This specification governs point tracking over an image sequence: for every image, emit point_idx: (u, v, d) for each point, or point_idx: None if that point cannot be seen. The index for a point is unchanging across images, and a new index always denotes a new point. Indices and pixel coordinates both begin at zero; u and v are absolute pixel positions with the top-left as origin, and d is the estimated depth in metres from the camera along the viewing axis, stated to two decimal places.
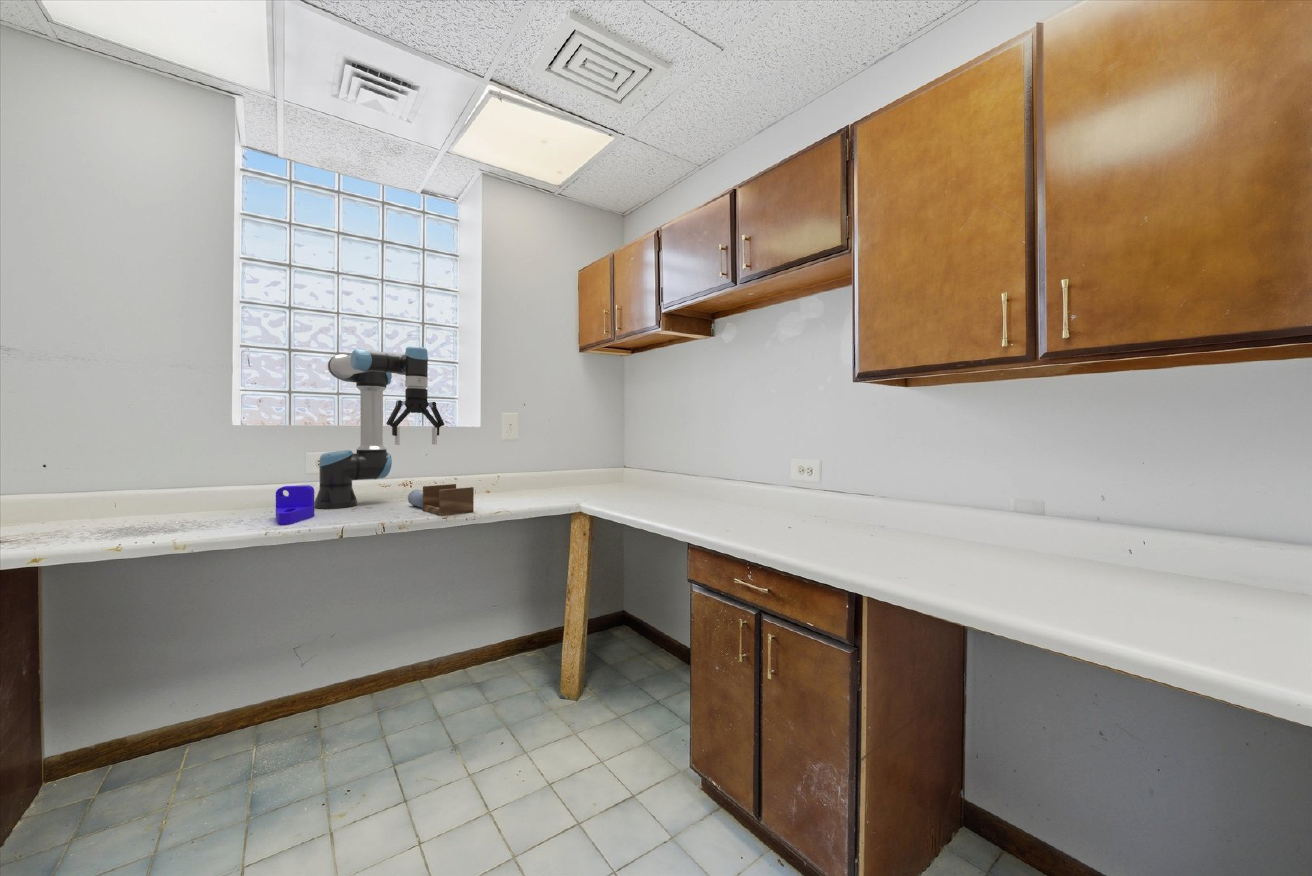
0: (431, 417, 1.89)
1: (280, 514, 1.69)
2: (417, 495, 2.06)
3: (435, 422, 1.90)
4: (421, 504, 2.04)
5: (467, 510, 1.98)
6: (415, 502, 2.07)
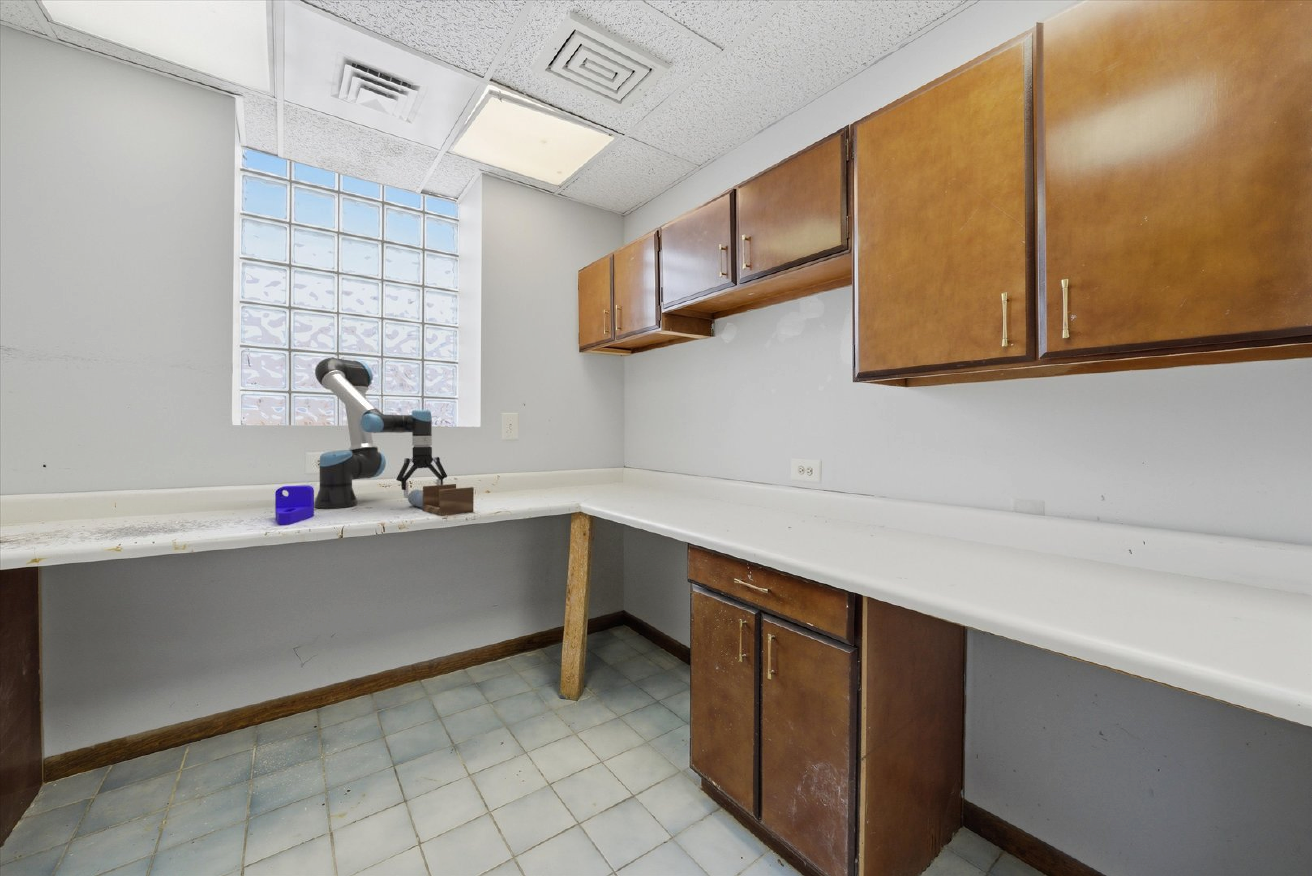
0: (435, 471, 2.13)
1: (280, 514, 1.69)
2: (417, 495, 2.06)
3: (439, 475, 2.14)
4: (421, 504, 2.04)
5: (467, 510, 1.98)
6: (415, 502, 2.07)
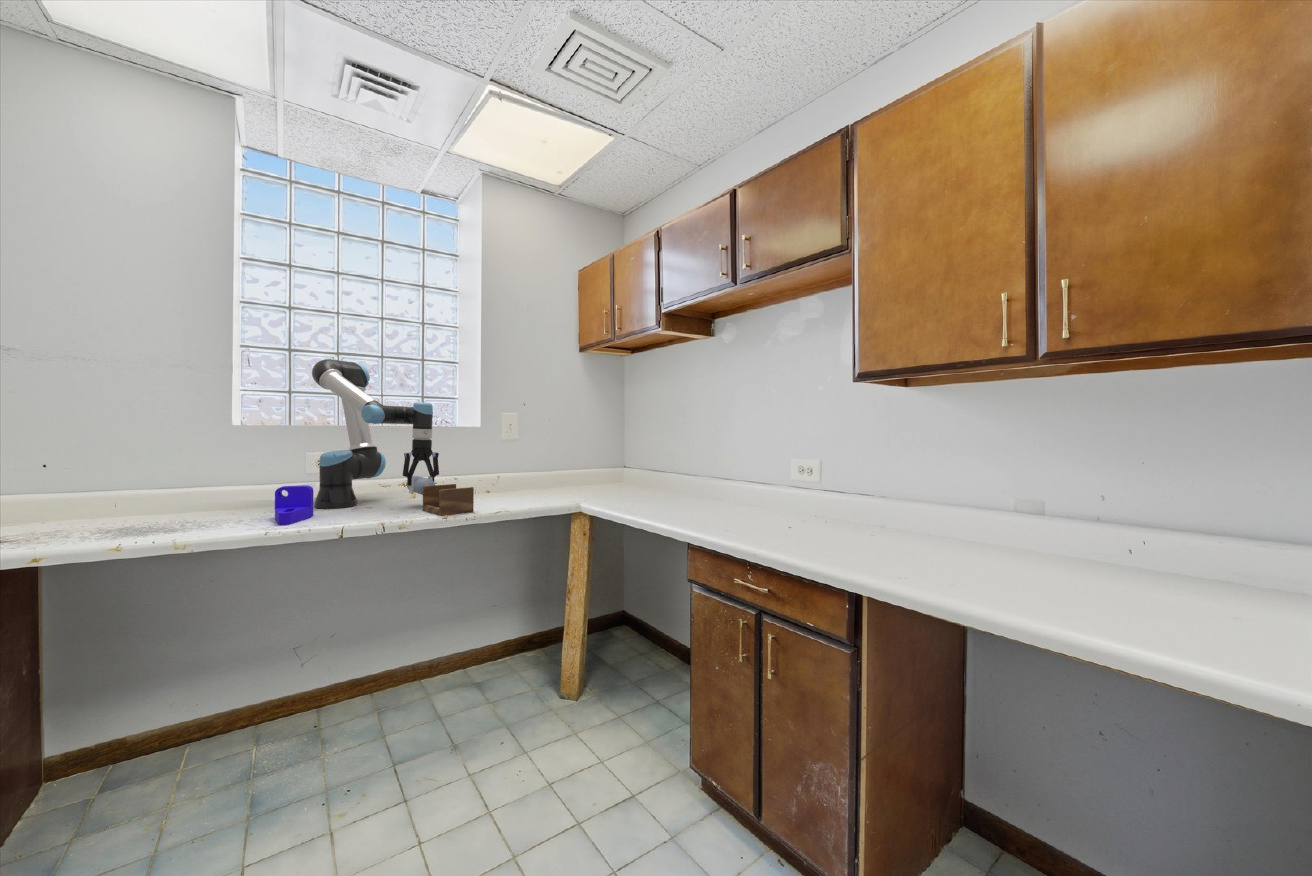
0: (430, 466, 2.12)
1: (280, 514, 1.68)
2: (417, 481, 2.06)
3: (432, 471, 2.12)
4: (420, 490, 2.04)
5: (467, 510, 1.98)
6: (414, 488, 2.07)
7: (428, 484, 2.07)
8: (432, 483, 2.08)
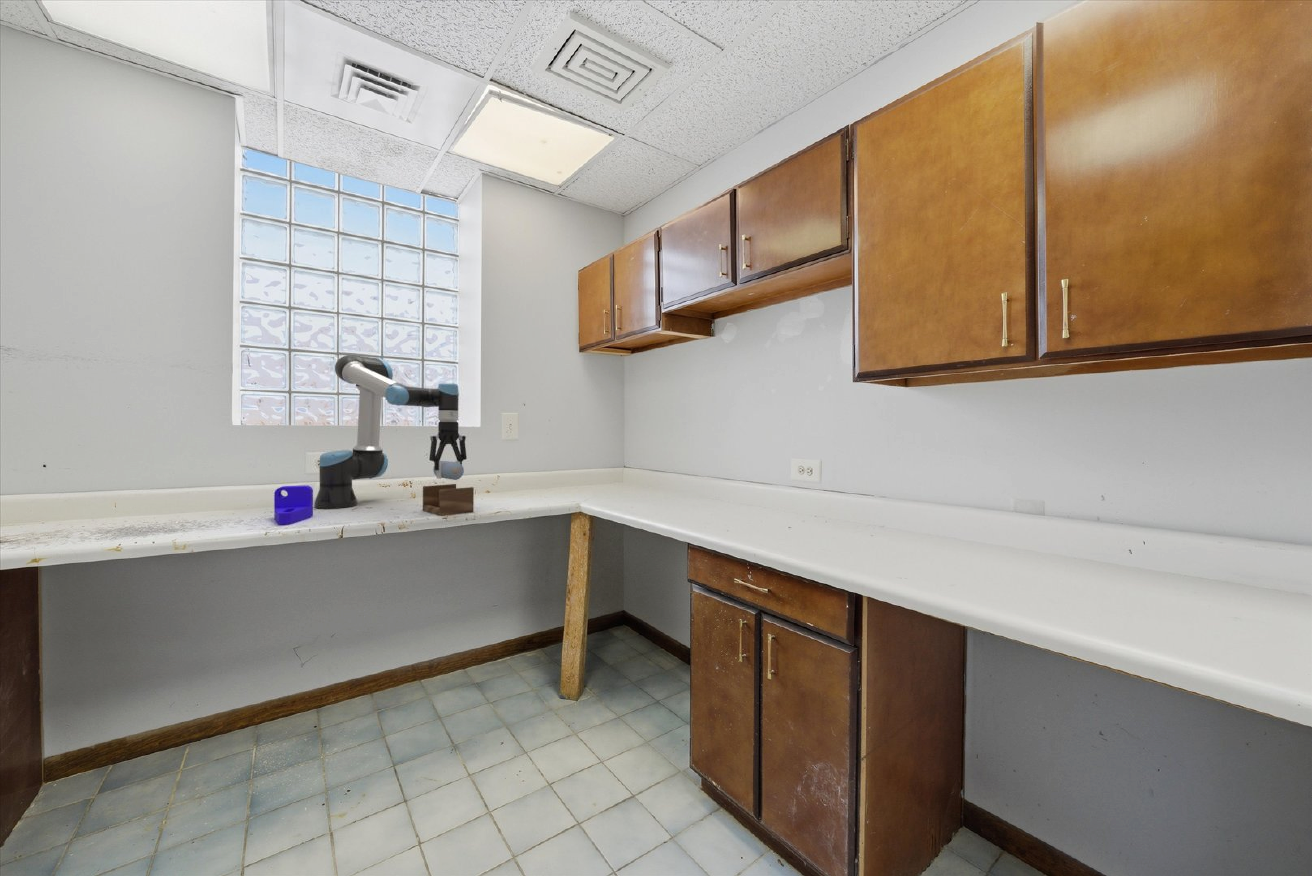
0: (457, 450, 2.01)
1: (280, 514, 1.68)
2: (444, 465, 1.96)
3: (460, 456, 2.02)
4: (448, 474, 1.94)
5: (467, 510, 1.98)
6: (442, 473, 1.96)
7: (456, 468, 1.96)
8: (460, 467, 1.97)
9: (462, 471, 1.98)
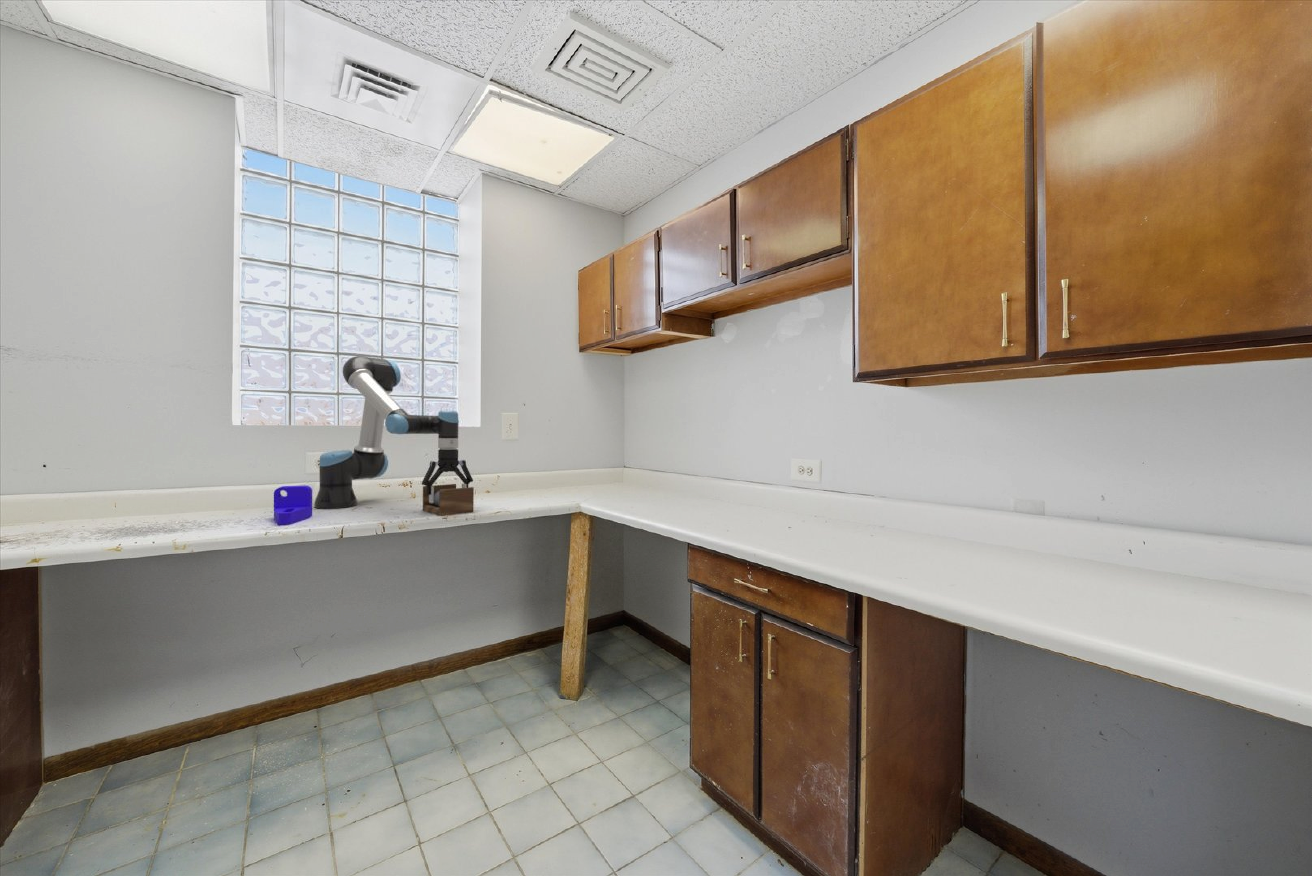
0: (461, 475, 2.03)
1: (280, 514, 1.68)
2: None
3: (465, 479, 2.04)
4: None
5: (467, 510, 1.98)
6: None
7: None
8: None
9: None
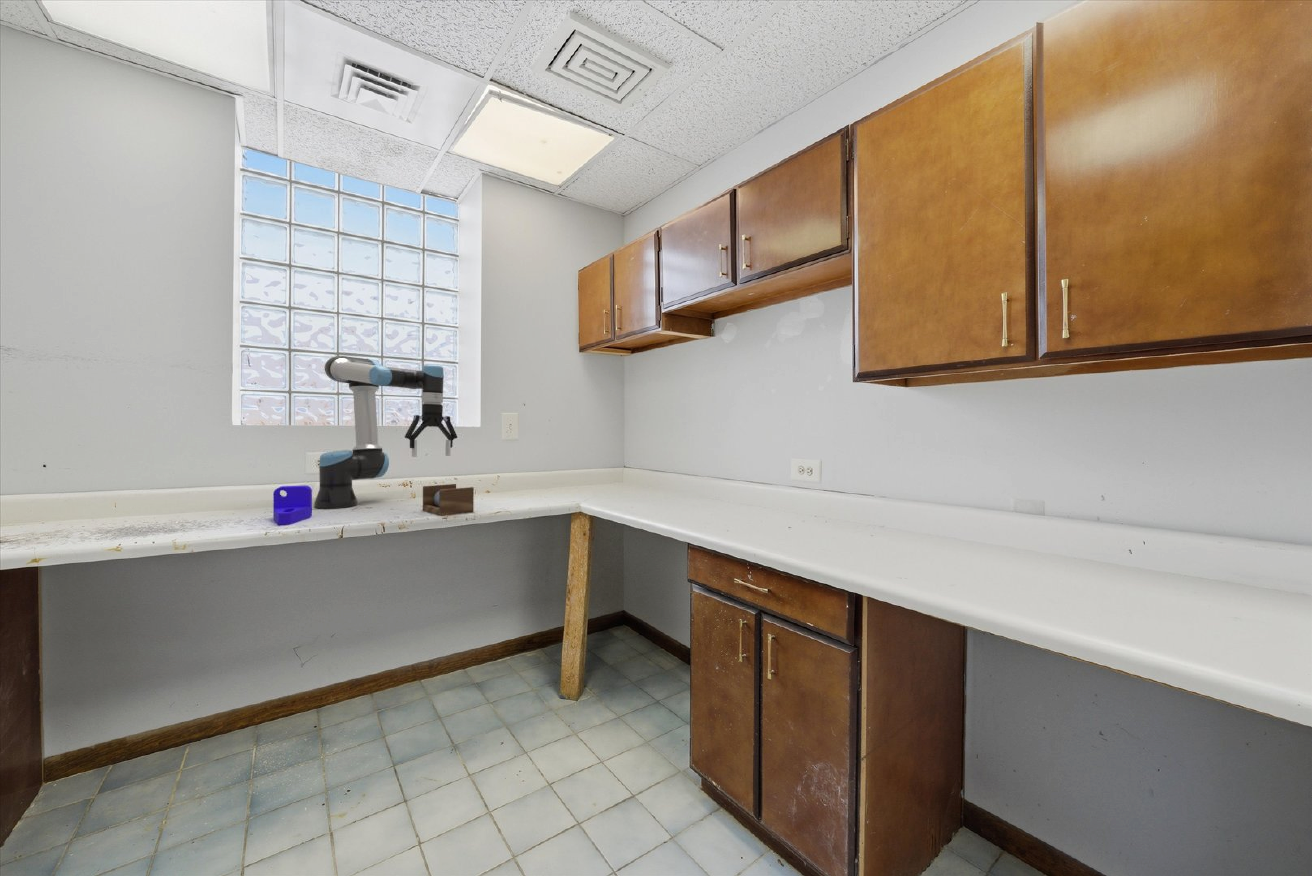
0: (445, 430, 2.02)
1: (280, 514, 1.68)
2: None
3: (449, 435, 2.03)
4: None
5: (467, 510, 1.98)
6: None
7: None
8: None
9: None
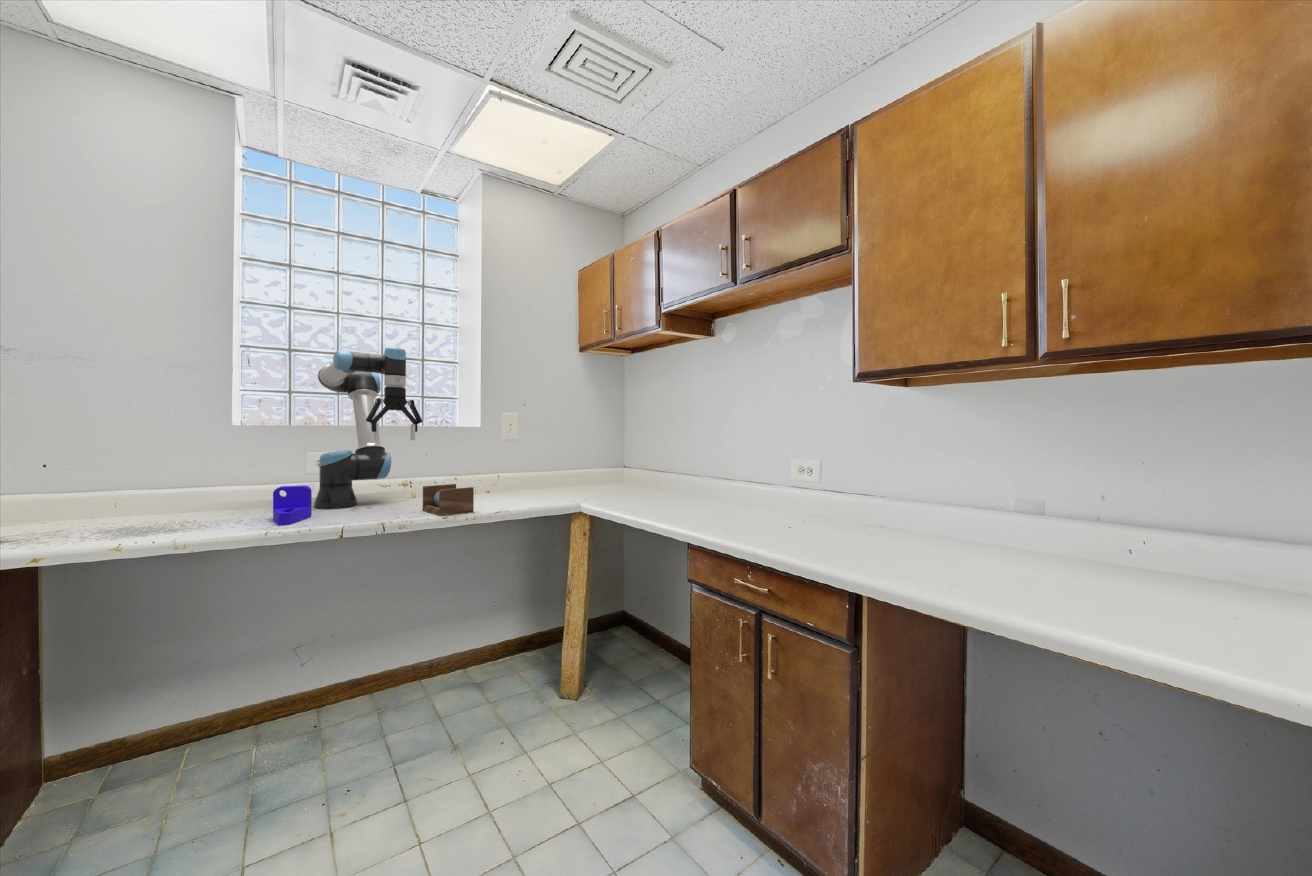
0: (409, 414, 1.99)
1: (280, 514, 1.68)
2: None
3: (414, 419, 2.00)
4: None
5: (467, 510, 1.98)
6: None
7: None
8: None
9: None
